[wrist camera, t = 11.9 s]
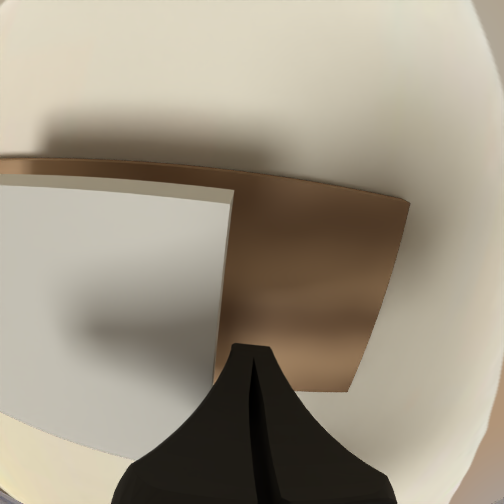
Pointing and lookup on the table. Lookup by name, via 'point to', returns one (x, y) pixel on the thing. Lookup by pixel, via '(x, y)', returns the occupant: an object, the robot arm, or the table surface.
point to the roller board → (284, 262)
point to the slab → (109, 305)
